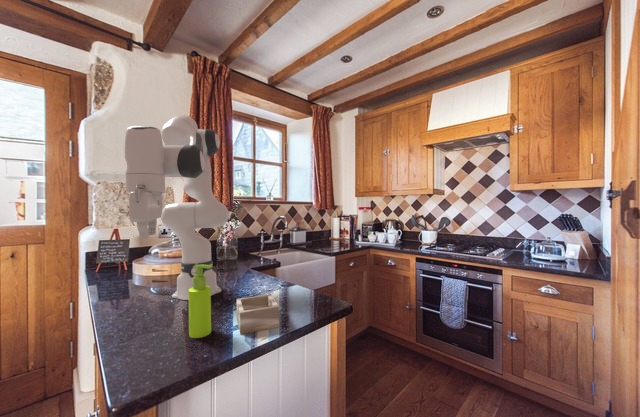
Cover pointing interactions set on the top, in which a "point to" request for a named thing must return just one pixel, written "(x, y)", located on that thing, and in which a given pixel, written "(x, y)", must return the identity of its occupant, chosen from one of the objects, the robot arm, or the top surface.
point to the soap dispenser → (199, 304)
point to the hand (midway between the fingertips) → (148, 236)
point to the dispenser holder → (257, 313)
